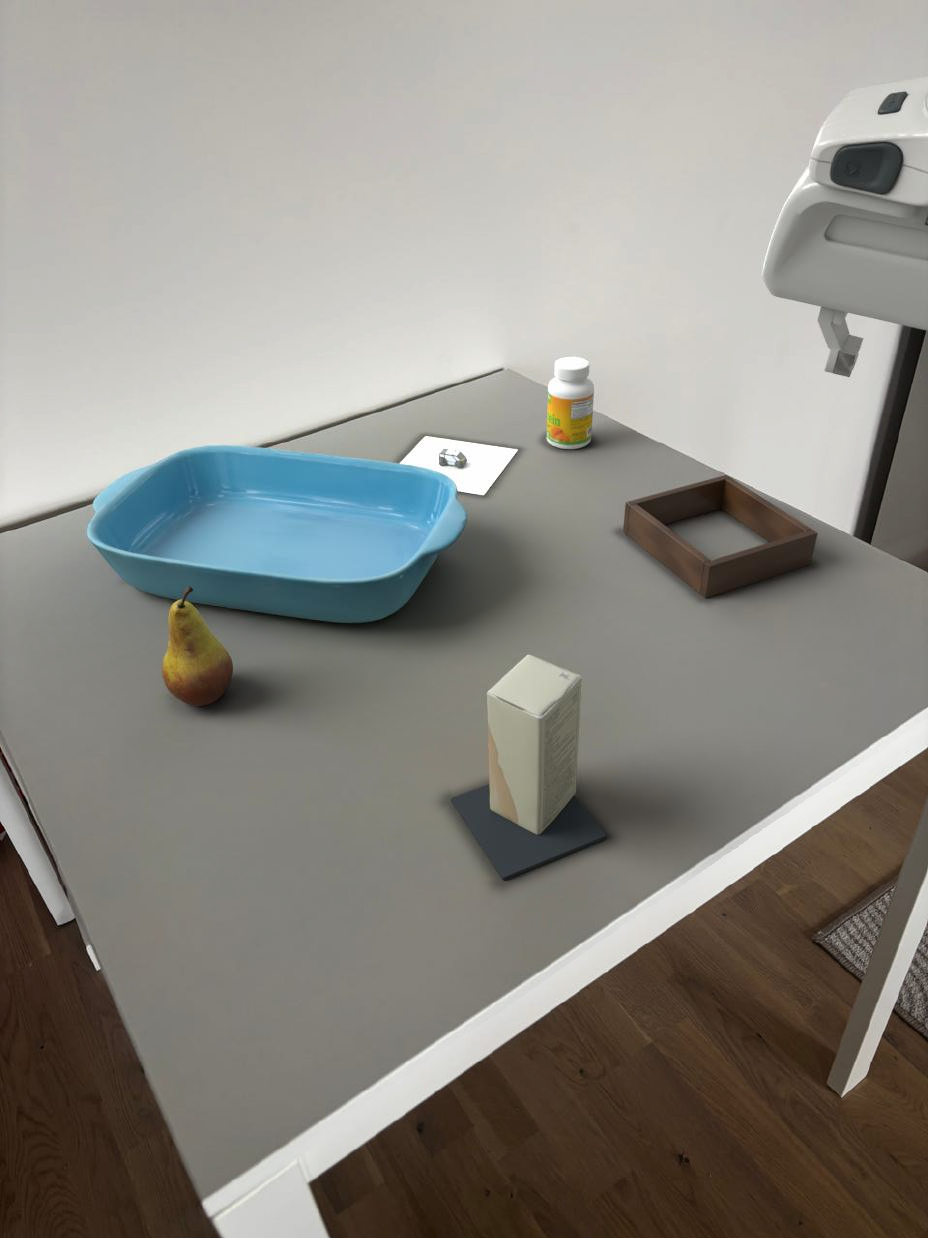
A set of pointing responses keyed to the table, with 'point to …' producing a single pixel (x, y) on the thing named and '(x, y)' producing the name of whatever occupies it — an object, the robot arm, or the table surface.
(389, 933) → the table surface
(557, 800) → the box
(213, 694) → the fruit
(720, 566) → the crate
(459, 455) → the white card
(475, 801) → the mat
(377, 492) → the casserole dish
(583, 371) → the supplement bottle
